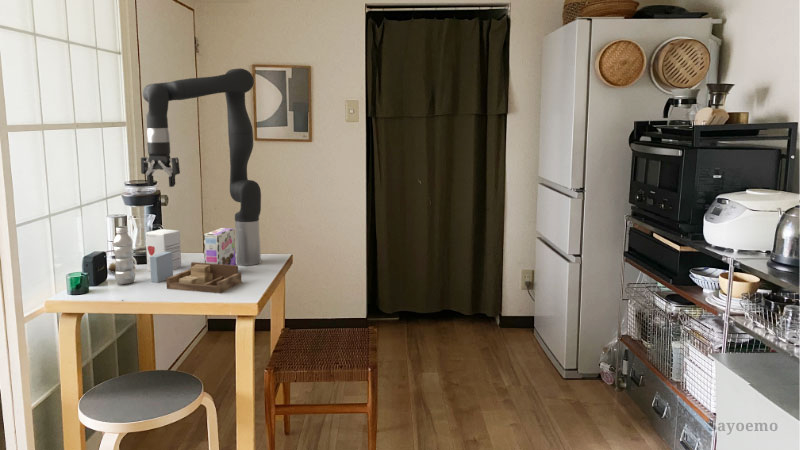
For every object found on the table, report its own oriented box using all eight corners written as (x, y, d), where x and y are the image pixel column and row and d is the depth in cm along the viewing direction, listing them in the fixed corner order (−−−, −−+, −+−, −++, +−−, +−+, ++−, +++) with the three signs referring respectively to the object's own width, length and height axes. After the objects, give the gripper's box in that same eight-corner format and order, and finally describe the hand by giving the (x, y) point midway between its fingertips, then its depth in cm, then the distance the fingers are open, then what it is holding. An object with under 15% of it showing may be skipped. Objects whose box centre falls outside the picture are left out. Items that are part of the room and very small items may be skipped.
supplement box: (146, 271, 243) (144, 232, 240) (163, 266, 251) (161, 228, 248) (165, 273, 239) (163, 234, 237) (182, 268, 248) (180, 230, 245)
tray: (190, 281, 229) (189, 261, 228) (241, 285, 224) (240, 265, 223) (166, 291, 216) (165, 271, 214) (220, 296, 210) (219, 275, 209)
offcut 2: (196, 272, 225) (196, 264, 224) (210, 273, 224) (209, 264, 224) (190, 275, 220) (190, 267, 220) (204, 276, 220) (204, 267, 219)
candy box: (219, 279, 232) (217, 234, 229) (204, 278, 233) (202, 233, 230) (236, 270, 245) (235, 227, 242) (222, 269, 246) (220, 227, 243)
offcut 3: (197, 280, 226) (197, 272, 225) (212, 281, 224) (212, 273, 224) (189, 284, 221) (188, 275, 221) (204, 285, 219) (204, 276, 219)
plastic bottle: (140, 282, 228) (136, 226, 224) (126, 286, 221) (122, 229, 218) (125, 280, 230) (121, 225, 226) (111, 285, 223) (106, 228, 220)
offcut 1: (187, 284, 220) (186, 276, 220) (199, 286, 219) (198, 277, 218) (179, 287, 217) (178, 279, 216) (191, 289, 215) (191, 280, 214)
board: (167, 278, 232) (165, 251, 231) (173, 279, 232) (171, 252, 230) (151, 285, 224) (149, 256, 222) (157, 285, 223) (156, 257, 221)
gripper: (182, 140, 231) (184, 185, 234) (147, 140, 235) (150, 184, 238) (169, 141, 224) (172, 188, 227) (134, 141, 228) (137, 186, 231)
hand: (161, 186), depth 232 cm, fingers open, 8 cm apart
